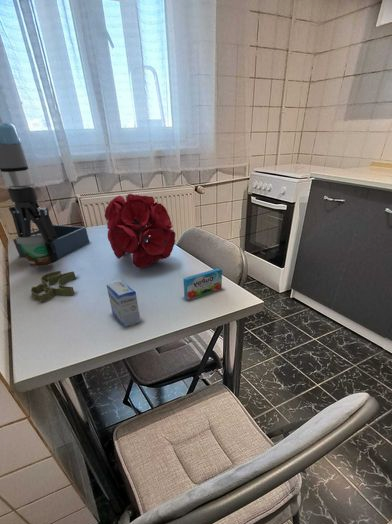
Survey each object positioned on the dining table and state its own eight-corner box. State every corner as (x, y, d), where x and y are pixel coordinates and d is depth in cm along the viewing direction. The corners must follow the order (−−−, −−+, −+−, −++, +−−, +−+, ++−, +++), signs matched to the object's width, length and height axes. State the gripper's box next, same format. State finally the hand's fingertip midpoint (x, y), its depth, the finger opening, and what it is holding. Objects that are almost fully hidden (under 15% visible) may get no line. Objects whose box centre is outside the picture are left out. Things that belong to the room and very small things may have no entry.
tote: (19, 256, 116) (12, 239, 112) (56, 240, 133) (52, 224, 129) (55, 260, 112) (49, 242, 108) (89, 242, 128) (85, 227, 124)
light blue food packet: (187, 300, 82) (186, 280, 78) (184, 298, 83) (183, 278, 79) (221, 289, 87) (222, 269, 83) (218, 287, 88) (218, 267, 84)
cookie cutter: (73, 297, 86) (71, 291, 85) (29, 304, 83) (27, 297, 82) (77, 274, 100) (75, 268, 98) (39, 279, 97) (37, 273, 96)
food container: (33, 270, 99) (22, 240, 93) (25, 266, 102) (14, 236, 96) (67, 260, 106) (59, 231, 100) (59, 256, 109) (50, 228, 103)
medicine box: (112, 314, 77) (105, 284, 72) (128, 309, 79) (122, 279, 74) (124, 327, 72) (118, 295, 67) (141, 321, 74) (135, 290, 69)
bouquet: (104, 281, 111) (132, 261, 85) (82, 217, 107) (105, 176, 81) (154, 270, 122) (192, 249, 96) (136, 212, 118) (171, 174, 92)
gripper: (55, 185, 90) (76, 259, 104) (5, 183, 95) (31, 253, 109) (37, 189, 84) (61, 267, 98) (-15, 187, 90) (15, 260, 104)
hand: (45, 259), depth 104 cm, fingers closed on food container, 7 cm apart
